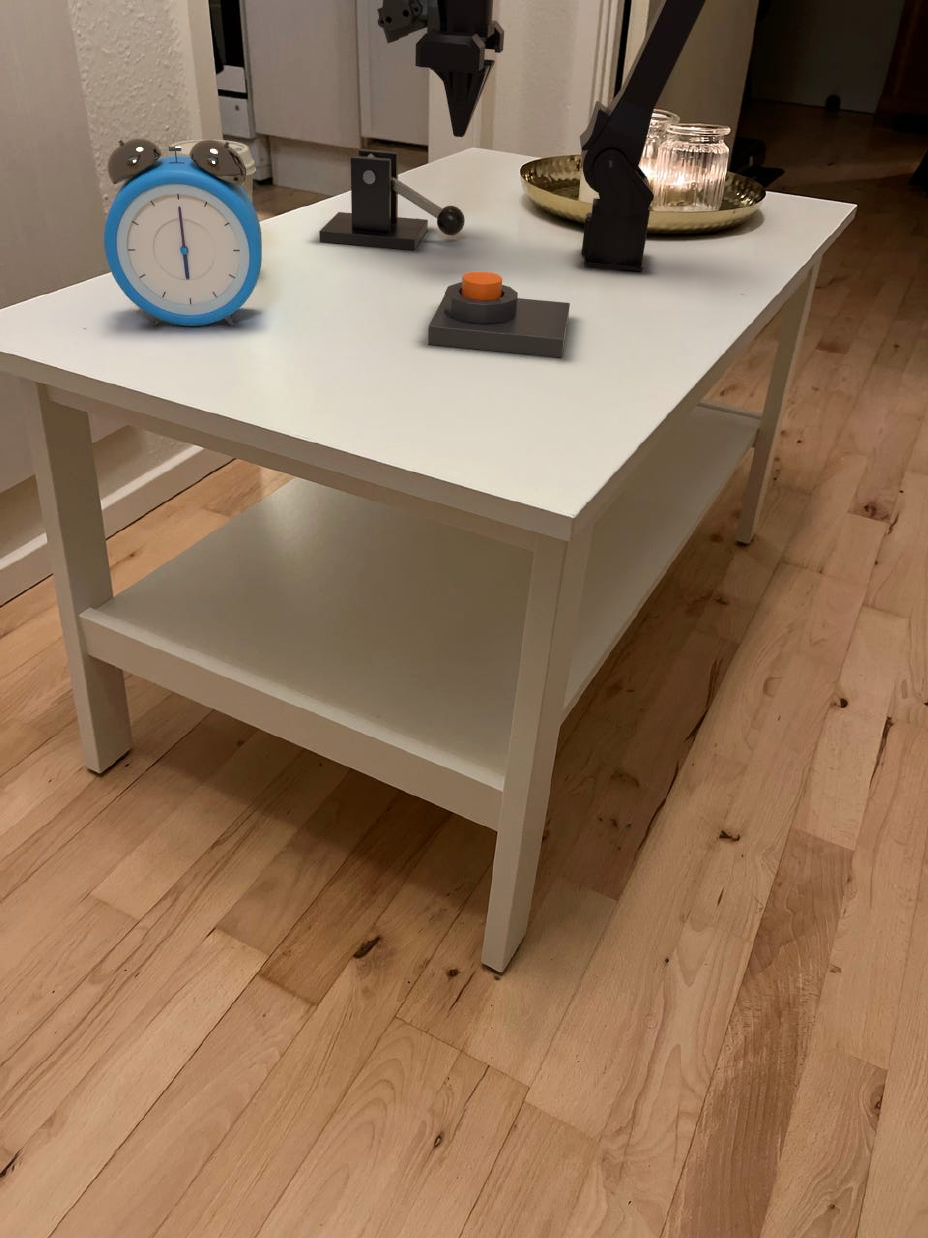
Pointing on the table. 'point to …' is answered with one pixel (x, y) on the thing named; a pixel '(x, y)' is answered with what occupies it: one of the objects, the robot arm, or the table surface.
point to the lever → (432, 208)
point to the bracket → (374, 207)
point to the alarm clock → (182, 231)
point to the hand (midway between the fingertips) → (459, 136)
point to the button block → (500, 323)
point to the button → (481, 285)
